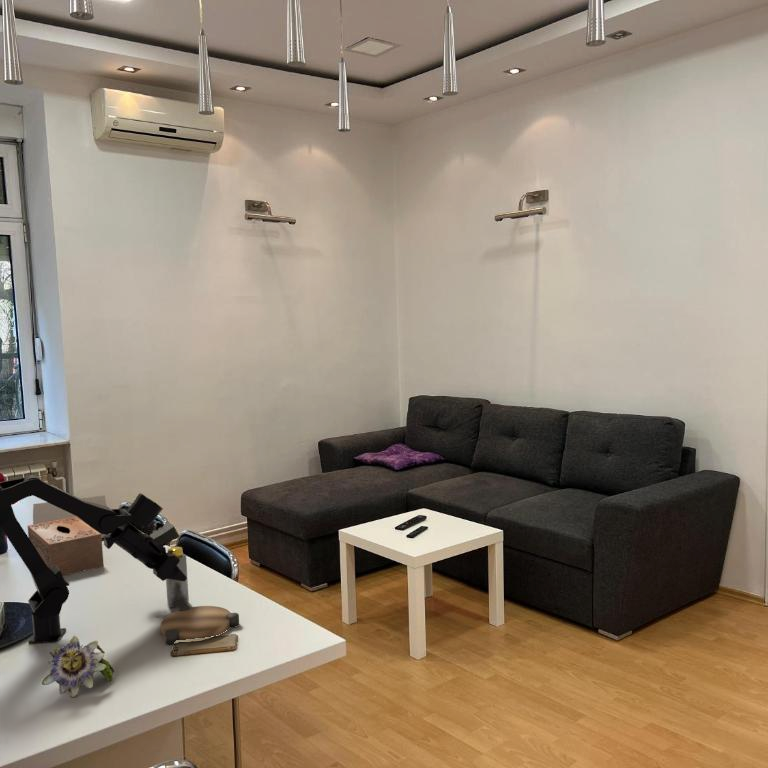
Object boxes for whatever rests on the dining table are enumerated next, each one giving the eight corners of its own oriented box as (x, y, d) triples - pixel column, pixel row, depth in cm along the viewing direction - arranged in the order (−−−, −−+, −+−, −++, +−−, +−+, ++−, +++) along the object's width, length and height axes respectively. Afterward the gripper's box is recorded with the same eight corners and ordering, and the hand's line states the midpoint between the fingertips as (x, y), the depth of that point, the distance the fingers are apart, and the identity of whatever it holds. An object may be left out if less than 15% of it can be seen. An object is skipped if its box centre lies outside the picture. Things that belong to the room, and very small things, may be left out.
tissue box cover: (30, 557, 240) (27, 525, 239) (78, 546, 248) (76, 516, 247) (52, 578, 219) (49, 544, 218) (103, 567, 228) (101, 533, 227)
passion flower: (77, 721, 152) (34, 687, 146) (74, 687, 161) (34, 654, 156) (125, 682, 154) (84, 647, 148) (119, 651, 163) (81, 616, 158)
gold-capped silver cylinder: (186, 606, 193) (183, 551, 192) (165, 607, 193) (162, 552, 191) (190, 598, 198) (187, 545, 197) (169, 599, 198) (166, 546, 197)
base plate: (234, 640, 173) (234, 630, 173) (153, 646, 172) (153, 635, 172) (243, 610, 191) (242, 600, 190) (169, 614, 189) (169, 605, 189)
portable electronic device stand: (35, 567, 248) (32, 545, 243) (34, 519, 266) (32, 499, 261) (111, 555, 256) (109, 534, 252) (106, 510, 274) (104, 490, 270)
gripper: (168, 523, 183) (215, 559, 190) (145, 507, 199) (190, 541, 206) (137, 562, 180) (186, 597, 187) (116, 543, 195) (162, 576, 202)
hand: (182, 576), depth 196 cm, fingers closed on gold-capped silver cylinder, 5 cm apart
